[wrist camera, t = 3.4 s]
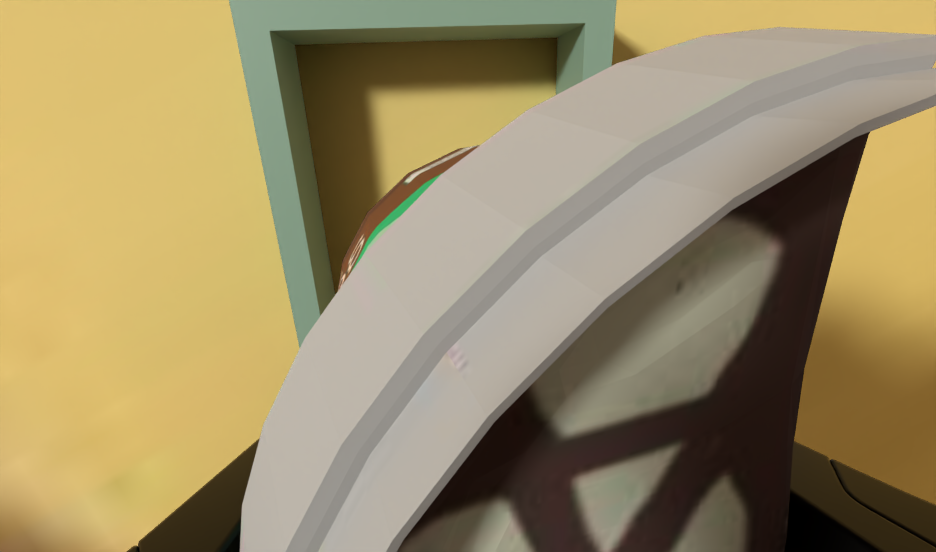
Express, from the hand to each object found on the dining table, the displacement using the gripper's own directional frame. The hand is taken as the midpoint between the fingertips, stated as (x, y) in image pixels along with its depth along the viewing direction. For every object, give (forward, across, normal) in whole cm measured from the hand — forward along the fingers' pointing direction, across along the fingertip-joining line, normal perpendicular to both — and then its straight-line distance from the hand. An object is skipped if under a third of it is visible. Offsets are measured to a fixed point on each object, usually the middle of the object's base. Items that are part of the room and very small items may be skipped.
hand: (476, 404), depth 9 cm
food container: (+5, +2, 0) cm, 5 cm away
